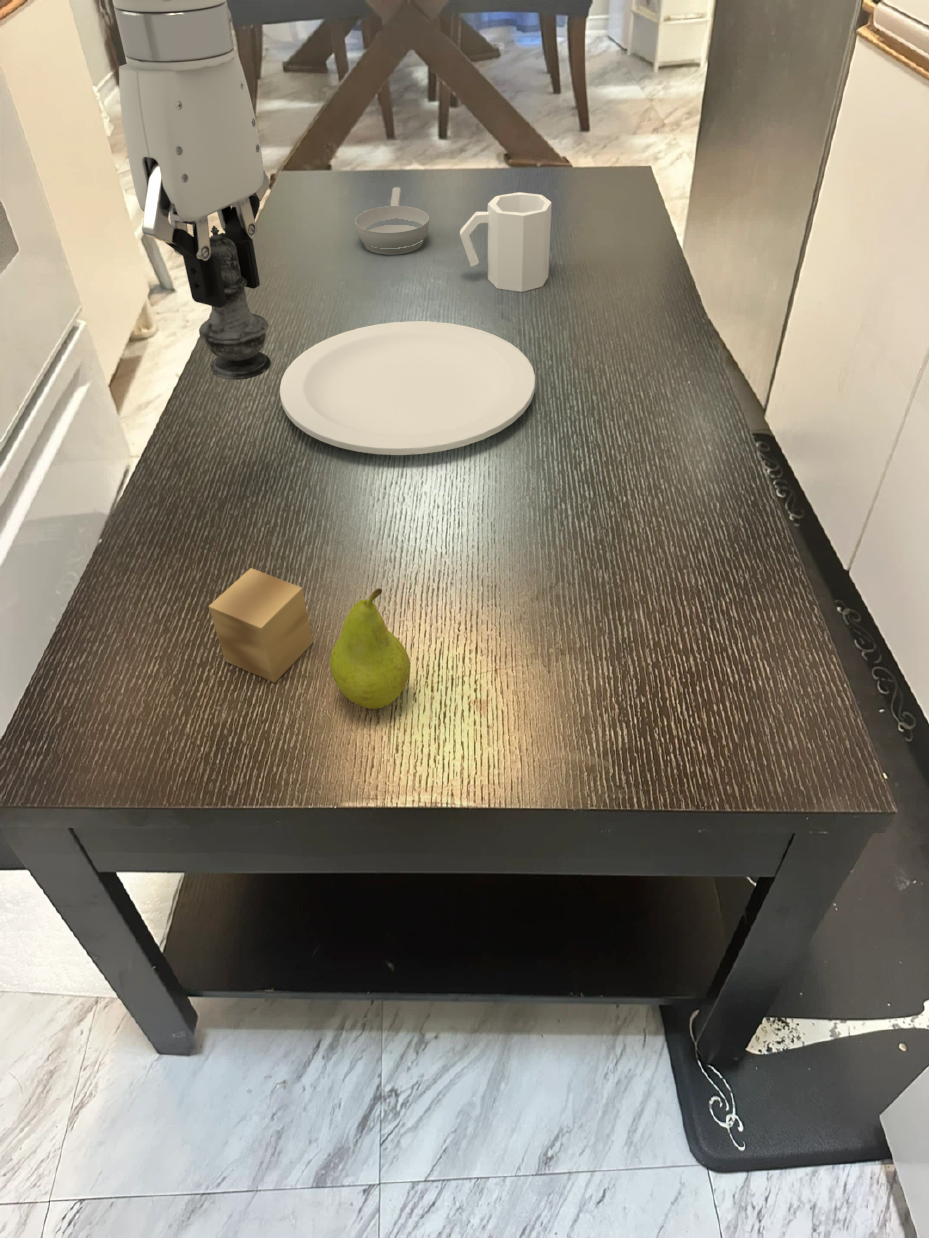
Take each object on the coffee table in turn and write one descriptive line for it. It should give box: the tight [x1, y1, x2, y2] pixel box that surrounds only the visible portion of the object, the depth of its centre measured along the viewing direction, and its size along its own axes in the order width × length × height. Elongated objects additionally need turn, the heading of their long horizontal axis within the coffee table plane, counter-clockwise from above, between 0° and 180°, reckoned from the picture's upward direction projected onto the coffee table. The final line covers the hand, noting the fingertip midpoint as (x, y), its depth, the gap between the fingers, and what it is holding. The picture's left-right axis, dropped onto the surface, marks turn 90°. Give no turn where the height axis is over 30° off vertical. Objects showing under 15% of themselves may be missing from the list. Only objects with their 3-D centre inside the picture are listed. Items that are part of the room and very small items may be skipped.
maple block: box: [208, 567, 314, 684], centre depth 69 cm, size 5×5×6 cm
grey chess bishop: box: [198, 225, 272, 381], centre depth 75 cm, size 6×6×12 cm
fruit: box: [329, 587, 411, 710], centre depth 63 cm, size 6×6×12 cm
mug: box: [459, 191, 553, 293], centre depth 118 cm, size 12×9×10 cm
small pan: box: [354, 186, 430, 256], centre depth 133 cm, size 11×18×4 cm, turn 0°
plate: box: [279, 320, 536, 456], centre depth 98 cm, size 28×28×2 cm
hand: (226, 292), depth 74 cm, fingers closed on grey chess bishop, 3 cm apart
